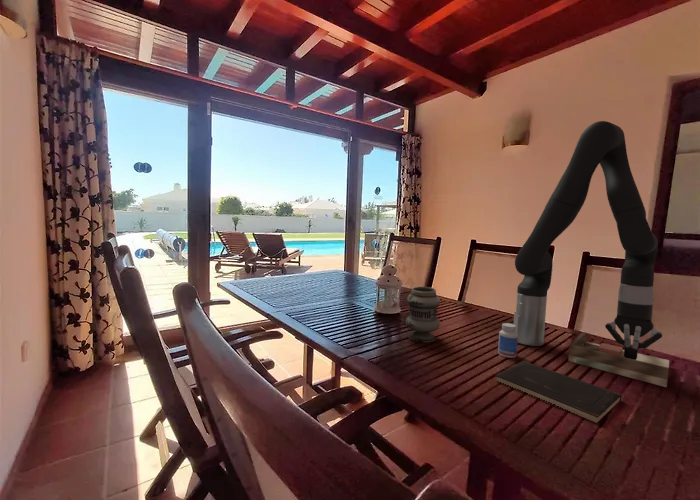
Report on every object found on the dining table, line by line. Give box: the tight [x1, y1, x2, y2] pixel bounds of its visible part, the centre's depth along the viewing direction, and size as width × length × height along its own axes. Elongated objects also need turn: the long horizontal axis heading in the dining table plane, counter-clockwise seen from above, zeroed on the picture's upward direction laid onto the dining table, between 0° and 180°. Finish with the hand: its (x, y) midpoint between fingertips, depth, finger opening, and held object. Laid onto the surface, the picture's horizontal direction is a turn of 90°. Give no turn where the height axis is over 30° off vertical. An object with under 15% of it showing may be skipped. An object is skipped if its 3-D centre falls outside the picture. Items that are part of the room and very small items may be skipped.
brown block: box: [599, 342, 624, 357], centre depth 98 cm, size 5×5×4 cm
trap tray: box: [567, 331, 670, 388], centre depth 101 cm, size 22×18×5 cm
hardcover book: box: [494, 360, 622, 424], centre depth 84 cm, size 16×23×2 cm
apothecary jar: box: [405, 286, 441, 343], centre depth 120 cm, size 12×12×18 cm
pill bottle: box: [497, 322, 519, 359], centre depth 106 cm, size 6×5×10 cm
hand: (630, 359), depth 95 cm, fingers closed
